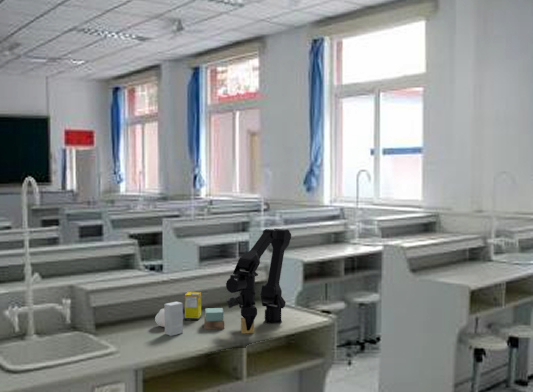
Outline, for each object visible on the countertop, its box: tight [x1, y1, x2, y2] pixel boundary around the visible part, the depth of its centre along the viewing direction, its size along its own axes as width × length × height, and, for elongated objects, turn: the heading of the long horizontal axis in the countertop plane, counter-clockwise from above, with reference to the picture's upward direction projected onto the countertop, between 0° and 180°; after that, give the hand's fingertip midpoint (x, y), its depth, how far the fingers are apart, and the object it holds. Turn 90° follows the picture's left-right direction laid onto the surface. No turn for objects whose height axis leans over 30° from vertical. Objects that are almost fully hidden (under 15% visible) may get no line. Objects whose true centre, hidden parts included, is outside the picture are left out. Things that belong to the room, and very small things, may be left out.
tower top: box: [204, 307, 224, 321], centre depth 241 cm, size 7×7×4 cm
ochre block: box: [240, 317, 255, 334], centre depth 234 cm, size 5×5×5 cm
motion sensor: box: [154, 308, 165, 328], centre depth 240 cm, size 8×8×8 cm
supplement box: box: [184, 291, 202, 321], centre depth 253 cm, size 6×6×11 cm
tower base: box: [203, 315, 225, 330], centre depth 241 cm, size 8×8×4 cm
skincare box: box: [164, 301, 184, 337], centre depth 230 cm, size 6×4×12 cm
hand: (247, 327), depth 234 cm, fingers open, 9 cm apart
